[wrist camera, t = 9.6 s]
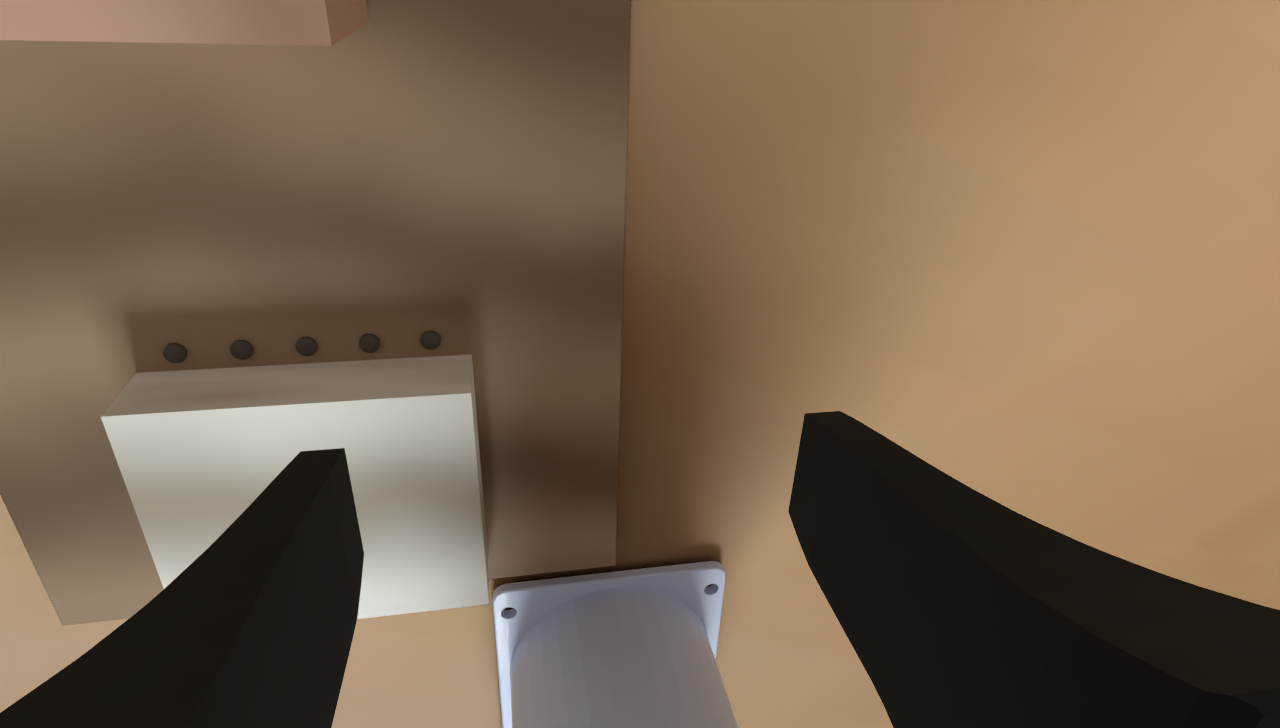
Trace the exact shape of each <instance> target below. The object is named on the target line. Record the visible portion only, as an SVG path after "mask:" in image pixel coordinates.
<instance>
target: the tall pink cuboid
mask: <svg viewBox="0 0 1280 728" xmlns="http://www.w3.org/2000/svg"><path fill="white" fill-rule="evenodd" d="M367 23H369V19H368V12H367V4H366V0H0V40H25V41H80V42H136V43H192V44H247V45H303V46H332V45H334V44H336V43H337V42H339V41H340V40H342V39H343V38H345V37H347V36H348V35H350V34H351V33H353V32H354V31H356V30H358V29H359V28H361V27H362V26H364V25H365V24H367Z"/></svg>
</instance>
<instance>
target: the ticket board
mask: <svg viewBox="0 0 1280 728" xmlns="http://www.w3.org/2000/svg"><path fill="white" fill-rule="evenodd" d="M366 4H367V12H368V19H369V23H367V24H365V25H364V26H362V27H361V28H359V29H358V30H356V31H354V32H353V33H351V34H350V35H348V36H347V37H345V38H343V39H342V40H340V41H339V42H337V43H336V44H334V45H332V46H303V45H247V44H192V43H136V42H80V41H25V40H0V495H1V497H2V499H3V501H4V503H5V505H6V507H7V510H8V512H9V514H10V516H11V518H12V520H13V522H14V524H15V526H16V529H17V531H18V533H19V535H20V537H21V539H22V541H23V543H24V546H25V548H26V550H27V552H28V554H29V556H30V558H31V560H32V563H33V565H34V567H35V569H36V571H37V573H38V575H39V577H40V579H41V582H42V584H43V586H44V588H45V590H46V592H47V594H48V596H49V599H50V601H51V603H52V605H53V607H54V609H55V611H56V613H57V616H58V618H59V620H60V622H61V624H62V626H63V625H72V624H81V623H90V622H99V621H109V620H118V619H127V618H131V617H132V616H133V615H134V614H136V613H137V612H138V611H139V610H140V609H142V608H143V607H144V606H145V605H146V604H148V603H149V602H150V601H151V600H152V599H153V598H154V597H156V596H157V595H158V594H159V593H160V592H161V591H163V590H164V589H165V588H166V587H167V586H168V585H169V584H170V583H171V582H172V581H173V580H174V579H175V578H176V577H178V576H179V575H180V574H181V573H182V572H183V571H184V570H185V569H186V568H187V567H188V566H189V565H190V564H192V563H193V562H194V561H195V560H196V559H197V558H198V557H199V556H200V555H201V554H202V553H203V552H204V551H206V550H207V549H208V548H209V547H210V546H211V545H212V544H213V543H214V542H215V541H216V540H217V539H218V537H219V536H220V535H221V534H222V533H223V532H224V531H225V530H226V529H227V528H228V527H229V526H230V525H231V524H232V523H233V522H234V521H235V520H236V519H237V518H238V517H239V516H240V515H241V514H242V513H243V512H244V511H245V510H246V509H247V508H248V507H249V506H250V504H251V503H252V502H253V501H254V500H255V499H256V498H257V497H258V496H259V495H260V494H261V493H262V492H263V491H264V490H265V488H266V487H267V486H268V485H269V484H270V483H271V482H272V481H273V480H274V479H275V478H276V477H277V476H278V474H279V473H280V472H281V471H282V470H283V469H284V468H285V467H286V466H287V465H288V464H289V463H290V462H291V461H292V460H293V459H294V458H295V457H296V456H297V455H298V454H299V453H300V452H301V451H312V450H326V449H339V448H345V454H346V459H347V464H348V470H349V475H350V480H351V486H352V491H353V496H354V502H355V507H356V512H357V518H358V523H359V529H360V534H361V539H362V545H363V550H364V561H363V571H362V582H361V591H360V600H359V609H358V616H357V619H362V618H371V617H379V616H388V615H397V614H406V613H414V612H423V611H432V610H441V609H449V608H458V607H467V606H476V605H484V604H489V580H488V579H496V578H505V577H515V576H524V575H533V574H542V573H551V572H561V571H570V570H579V569H588V568H598V567H607V566H616V533H617V496H618V459H619V422H620V385H621V348H622V310H623V273H624V236H625V199H626V162H627V125H628V88H629V51H630V14H631V0H366Z"/></svg>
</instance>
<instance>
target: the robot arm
mask: <svg viewBox="0 0 1280 728" xmlns="http://www.w3.org/2000/svg"><path fill="white" fill-rule="evenodd" d="M789 514H790V517H791V520H792V523H793V525H794V528H795V531H796V534H797V537H798V539H799V542H800V545H801V547H802V550H803V552H804V555H805V557H806V560H807V562H808V565H809V567H810V568H811V570H812V572H813V574H814V576H815V578H816V580H817V582H818V584H819V585H820V587H821V589H822V591H823V593H824V595H825V597H826V598H827V600H828V602H829V604H830V606H831V608H832V610H833V611H834V613H835V615H836V617H837V619H838V620H839V622H840V624H841V626H842V628H843V629H844V631H845V633H846V635H847V637H848V639H849V640H850V642H851V644H852V646H853V648H854V649H855V651H856V653H857V655H858V657H859V658H860V660H861V662H862V664H863V666H864V668H865V669H866V671H867V673H868V675H869V677H870V678H871V680H872V682H873V684H874V686H875V688H876V690H877V692H878V694H879V696H880V698H881V700H882V702H883V704H884V706H885V709H886V711H887V713H888V716H889V718H890V720H891V723H892V725H893V727H894V728H1280V610H1276V609H1272V608H1269V607H1265V606H1261V605H1258V604H1254V603H1251V602H1248V601H1244V600H1241V599H1238V598H1235V597H1231V596H1228V595H1225V594H1222V593H1218V592H1215V591H1212V590H1209V589H1205V588H1202V587H1199V586H1196V585H1193V584H1190V583H1187V582H1184V581H1181V580H1178V579H1175V578H1172V577H1169V576H1166V575H1164V574H1161V573H1158V572H1155V571H1153V570H1150V569H1147V568H1145V567H1142V566H1139V565H1137V564H1134V563H1131V562H1129V561H1126V560H1123V559H1121V558H1118V557H1116V556H1113V555H1110V554H1108V553H1105V552H1103V551H1100V550H1098V549H1095V548H1093V547H1091V546H1088V545H1086V544H1083V543H1081V542H1079V541H1076V540H1074V539H1072V538H1070V537H1068V536H1066V535H1063V534H1061V533H1059V532H1057V531H1055V530H1052V529H1050V528H1048V527H1046V526H1044V525H1041V524H1039V523H1037V522H1035V521H1033V520H1031V519H1029V518H1027V517H1025V516H1023V515H1021V514H1018V513H1016V512H1014V511H1013V510H1011V509H1009V508H1007V507H1005V506H1003V505H1001V504H999V503H997V502H996V501H994V500H992V499H990V498H988V497H986V496H984V495H983V494H981V493H979V492H977V491H975V490H973V489H971V488H970V487H968V486H966V485H964V484H963V483H961V482H959V481H957V480H956V479H954V478H952V477H950V476H949V475H947V474H945V473H944V472H942V471H940V470H938V469H937V468H935V467H933V466H932V465H930V464H928V463H927V462H925V461H923V460H922V459H920V458H919V457H917V456H915V455H914V454H912V453H910V452H909V451H907V450H905V449H904V448H902V447H901V446H899V445H897V444H896V443H894V442H892V441H891V440H889V439H888V438H886V437H884V436H883V435H881V434H879V433H878V432H876V431H874V430H873V429H871V428H869V427H868V426H866V425H864V424H863V423H861V422H859V421H857V420H856V419H854V418H852V417H850V416H848V415H846V414H844V413H842V412H840V411H835V412H822V413H808V414H805V416H804V422H803V428H802V434H801V440H800V446H799V452H798V458H797V464H796V470H795V476H794V482H793V488H792V494H791V500H790V506H789ZM363 561H364V550H363V545H362V539H361V534H360V529H359V523H358V518H357V512H356V507H355V502H354V496H353V491H352V486H351V480H350V475H349V470H348V464H347V459H346V454H345V448H339V449H326V450H312V451H301V452H300V453H299V454H298V455H297V456H296V457H295V458H294V459H293V460H292V461H291V462H290V463H289V464H288V465H287V466H286V467H285V468H284V469H283V470H282V471H281V472H280V473H279V474H278V476H277V477H276V478H275V479H274V480H273V481H272V482H271V483H270V484H269V485H268V486H267V487H266V488H265V490H264V491H263V492H262V493H261V494H260V495H259V496H258V497H257V498H256V499H255V500H254V501H253V502H252V503H251V504H250V506H249V507H248V508H247V509H246V510H245V511H244V512H243V513H242V514H241V515H240V516H239V517H238V518H237V519H236V520H235V521H234V522H233V523H232V524H231V525H230V526H229V527H228V528H227V529H226V530H225V531H224V532H223V533H222V534H221V535H220V536H219V537H218V539H217V540H216V541H215V542H214V543H213V544H212V545H211V546H210V547H209V548H208V549H207V550H206V551H204V552H203V553H202V554H201V555H200V556H199V557H198V558H197V559H196V560H195V561H194V562H193V563H192V564H190V565H189V566H188V567H187V568H186V569H185V570H184V571H183V572H182V573H181V574H180V575H179V576H178V577H176V578H175V579H174V580H173V581H172V582H171V583H170V584H169V585H168V586H167V587H166V588H165V589H164V590H163V591H161V592H160V593H159V594H158V595H157V596H156V597H154V598H153V599H152V600H151V601H150V602H149V603H148V604H146V605H145V606H144V607H143V608H142V609H140V610H139V611H138V612H137V613H136V614H134V615H133V616H132V617H131V618H130V619H128V620H127V621H126V622H125V623H123V624H122V625H121V626H119V627H118V628H117V629H116V630H114V631H113V632H112V633H111V634H109V635H108V636H107V637H105V638H104V639H103V640H102V641H100V642H99V643H98V644H97V645H95V646H94V647H93V648H92V649H90V650H89V651H88V652H86V653H85V654H84V655H82V656H81V657H80V658H78V659H77V660H76V661H74V662H73V663H71V664H70V665H68V666H67V667H66V668H64V669H63V670H61V671H60V672H58V673H57V674H56V675H54V676H53V677H51V678H50V679H48V680H47V681H46V682H44V683H43V684H41V685H40V686H38V687H37V688H36V689H34V690H33V691H31V692H30V693H28V694H27V695H25V696H24V697H23V698H21V699H20V700H18V701H17V702H15V703H14V704H13V705H11V706H10V707H8V708H7V709H5V710H4V711H3V712H1V713H0V728H331V726H332V722H333V718H334V714H335V710H336V705H337V701H338V697H339V693H340V689H341V685H342V681H343V676H344V672H345V668H346V664H347V660H348V655H349V651H350V647H351V643H352V638H353V634H354V630H355V625H356V621H357V616H358V609H359V600H360V591H361V582H362V571H363ZM725 580H726V573H725V570H724V568H723V566H722V564H721V563H719V562H717V561H707V562H697V563H688V564H679V565H670V566H661V567H652V568H643V569H634V570H625V571H616V572H606V573H597V574H588V575H579V576H570V577H561V578H552V579H543V580H534V581H525V582H515V583H507V584H503V585H500V586H499V587H497V588H496V589H495V590H494V592H493V596H492V597H493V614H494V626H495V638H496V651H497V663H498V675H499V688H500V700H501V712H502V725H503V728H738V726H737V723H736V720H735V717H734V714H733V711H732V708H731V705H730V702H729V699H728V696H727V693H726V690H725V687H724V684H723V681H722V678H721V675H720V672H719V669H718V666H717V663H716V653H717V645H718V637H719V629H720V621H721V612H722V604H723V596H724V588H725ZM710 584H713V585H712V586H709V587H706V586H708V585H710ZM508 607H510V608H513V609H510V610H504V609H505V608H508Z"/></svg>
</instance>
